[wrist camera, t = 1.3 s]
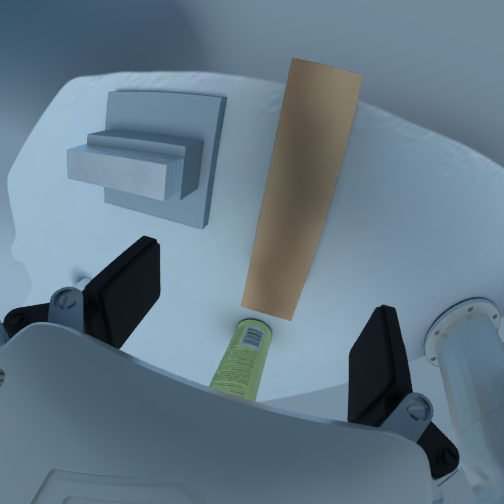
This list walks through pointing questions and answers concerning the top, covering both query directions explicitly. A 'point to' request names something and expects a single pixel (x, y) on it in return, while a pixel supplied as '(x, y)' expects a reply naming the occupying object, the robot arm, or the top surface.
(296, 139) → the walnut bar
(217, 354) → the top surface
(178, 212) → the stand
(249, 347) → the tube
